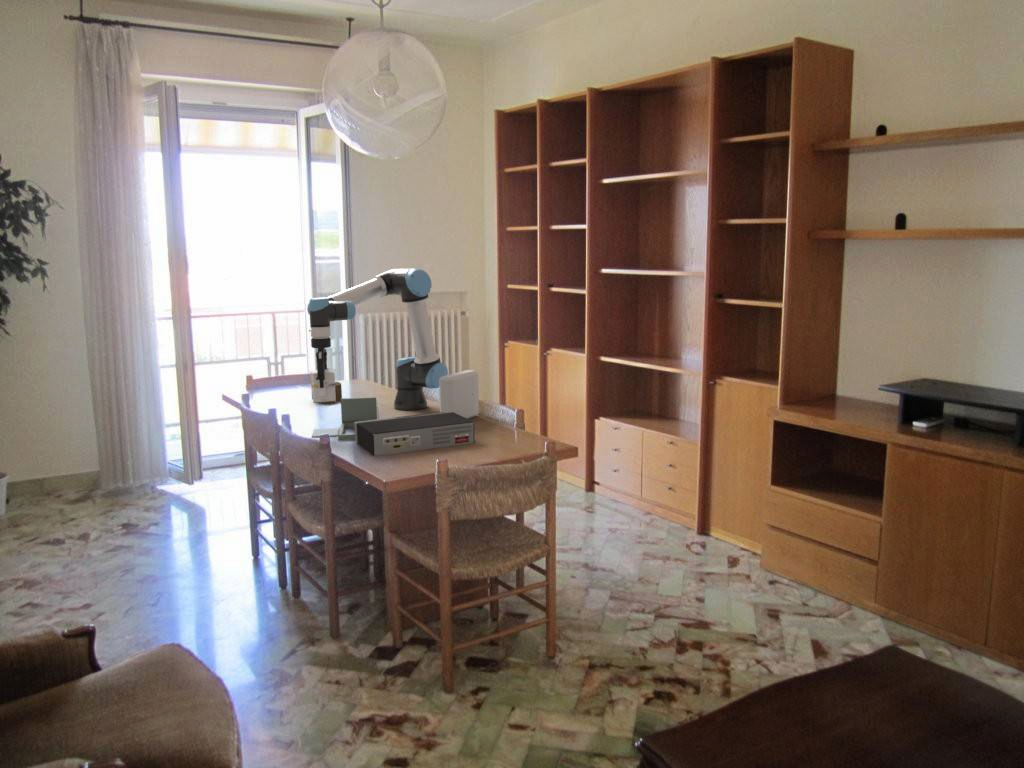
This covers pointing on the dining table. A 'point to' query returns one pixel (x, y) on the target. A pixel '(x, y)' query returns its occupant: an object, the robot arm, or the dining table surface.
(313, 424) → the dining table surface
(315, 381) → the ink box
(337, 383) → the brown stepped block
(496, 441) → the dining table surface
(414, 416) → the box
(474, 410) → the white upright slab
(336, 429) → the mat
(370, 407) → the grey angled piece
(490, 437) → the dining table surface
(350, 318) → the robot arm
